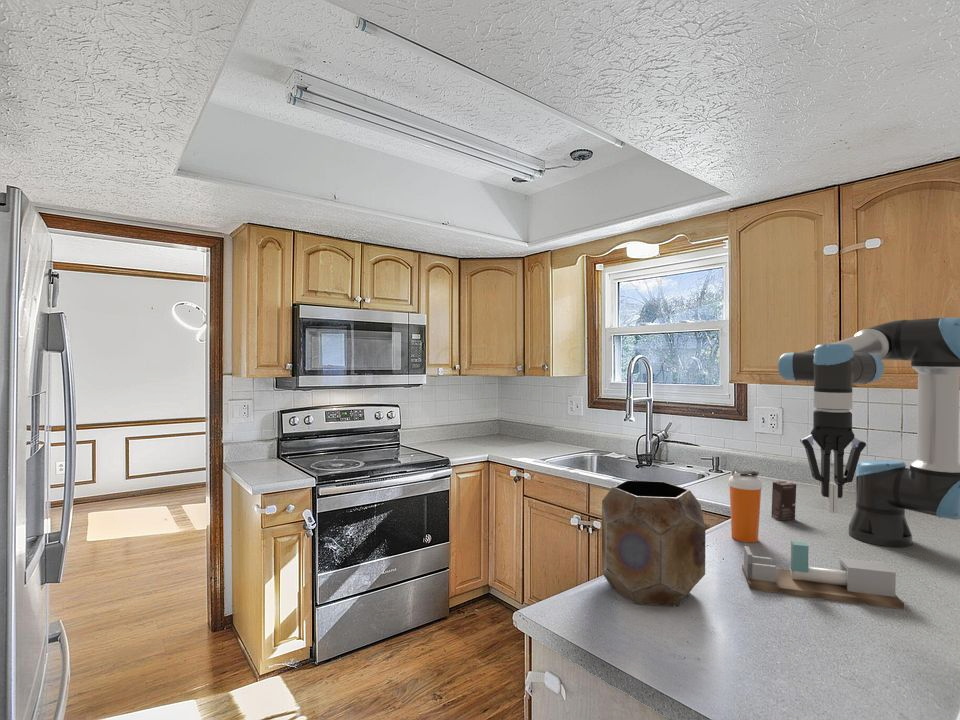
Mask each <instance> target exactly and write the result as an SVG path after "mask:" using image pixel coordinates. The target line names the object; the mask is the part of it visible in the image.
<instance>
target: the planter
mask: <svg viewBox="0 0 960 720" xmlns="http://www.w3.org/2000/svg"><path fill="white" fill-rule="evenodd" d="M601 573H602V575H603V577H604V578H605V579H606V581H607V583H608V584H609V585H610V587H611V588H612V589H614V590H615V591H616V592H618V593H619V594H621V595H622V596H624V597H625V598H626V599H628V600H629V601H631V602H632V603H634V604H635V605H645V606H647V605H649V606H663V607H679V605H681V603H682V602H683V601H684V600H685V598H686V597H687V596H688V595H689V594H690V592H691V591H692V590H693V589H694V587H695V586H696V585H697V584H698V583H699V582H700V581H701V580H702V579H703V578H704V576H705V575H706V525H705V519H704V515H703V511H702V506H701V503H700V502H699V501H698V499H697V497H695V495H694V493H693V492H692V490H690V489H687V488H685V487H682V486H678V485H675V484H672V483H669V482H667V481H666V482H665V481H658V480H655V481H653V480H625V481H623V482H620V483H619V484H617V485H614V486H613V487H611V489H610V490H609V491H608V493H607V494H606V495H605V496H604V497H603V499H602V500H601Z"/></svg>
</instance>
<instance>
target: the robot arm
mask: <svg viewBox="0 0 960 720" xmlns="http://www.w3.org/2000/svg"><path fill="white" fill-rule="evenodd" d="M883 360H886V361H910V367H911V368H912V369H913V370H914V371H915V372H916V373H917V421H916V424H917V427H916V429H917V431H916V433H917V436H916V438H917V439H916V444H917V445H916V459H914V460H913V461H912V462H910V463H909V468H908V467H907V464H906V463H905V462H904V461H901V460H891V459H890V460H889V459H877V460H876V459H873V460H872V459H871V460H862V461H860V462H859V460H860V456H861V453H862V451H863V450H864V449H865V448H866V447H867V443H866V442H864V441H862V440H860V439H858V438H856V436H855V434H854V432H853V413H852V412H851V410H852V409H853V384H859V385H860V384H862V385H866V384H871V383H875V382H876V381H877V380H879V379H880V378H881V377H882V376H883V374H884V372H885V365H884V362H883ZM777 369H778V370H777V372H778V373H779V375H780V377H781V379H784V380H786V381H794V382H813V408H815V410H814V411H813V415H812V416H813V417H812V418H813V419H812V420H813V421H812V422H813V426H812V427H813V428H812V430H811V431H810V435H807V436H806V437H800V439H799V441H800V443H801V444H802V446H803V447H804V449H805V453H806V456H807V457H806V458H807V462H808V465H809V470H810V473H811V477H812V478H813V479H814V480H816V481H818V482H820V483H821V487H820V489H821V490H820V491H821V492H820V494H821V495H822V497H823V498H825V510H826V511H827V512H829V513H832V514H838V510H839V509H838V506H839V505H838V504H839V503H838V499H842V498H843V494H844V492H843V491H844V490H843V488H844V487H843V486H844V485H845V484H846V483H853V480H854V477H855V509H854V512H853V515H852V517H851V520H850V522H849V524H848V534H849V536H851V537H852V538H854V539H856V540H858V541H862V542H865V543H868V544H873V545H877V546H885V547H893V548H905V547H906V548H907V547H910V546H912V545H913V535H912V532H911V529H910V526H909V524H908V521H907V519H906V515H905V512H906V510H908V511H911V512H912V511H913V512H916V513H917V512H918V513H920V514H925V515H931V516H933V517H934V516H935V517H936V518H940V519H942V518H943V519H950V520H954V521H955V520H958V521H959V520H960V462H959V443H960V442H959V441H960V440H959V437H960V436H959V435H960V434H959V433H960V431H959V430H960V428H959V427H960V425H959V423H960V317H935V318H934V317H933V318H921V319H920V318H919V319H917V318H915V319H899V320H898V319H897V320H893V321H888V322H885V323H879V324H877V325H874V326H871V327H870V326H869V327H867V328H865V329H861V330H859V331H858V332H856V333H855V334H854V335H853V336H851V337H848V338H843V339H842V340H838V341H835V342H832V343H824V344H822V343H821V344H817V345H816V346H815V347H814V348H813V349H808V350H804V351H802V352H801V351H800V352H796V351H792V352H785V353H783V354H782V355H781V356H780V357H779V359H778V362H777ZM814 441H815V442H816V444H817V445H818V446H819V448H820V469H819V466H818V461H817V459H816V454H815V450H814V447H813V445H814ZM850 444H851V445H850ZM849 445H850V446H851V448H850V452H849V456H848V458H847V463H846V466H845V470H844V457H845V449H846V448H847V447H848V446H849ZM832 451H833V481H830V480H831V479H830V477H831V454H832Z"/></svg>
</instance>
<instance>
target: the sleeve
mask: <svg viewBox="0 0 960 720" xmlns="http://www.w3.org/2000/svg"><path fill="white" fill-rule="evenodd" d="M839 570H842V571H847V591H852V592H860V593H868V594H876V595H884V596H892V597H895V595H896V586H897V585H896V584H897V583H896V582H897V581H896V579H897V574H896V571H894V570H893V569H892V568H891V567H890V565H888V564H887V563H886V562H882V561H881V562H880V561H870V560H863V559H852V558H844V557H840V558H839Z"/></svg>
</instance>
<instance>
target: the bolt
mask: <svg viewBox="0 0 960 720" xmlns="http://www.w3.org/2000/svg"><path fill="white" fill-rule="evenodd" d="M790 570H791V577H792V579H796V580H804V581H812V582H821V583H829V584H837V585H845V586H847V571H842V570H840V569H831V568H823V567H814V566H809V545H808V544H807V542H805V541H798V540H791V541H790Z"/></svg>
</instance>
